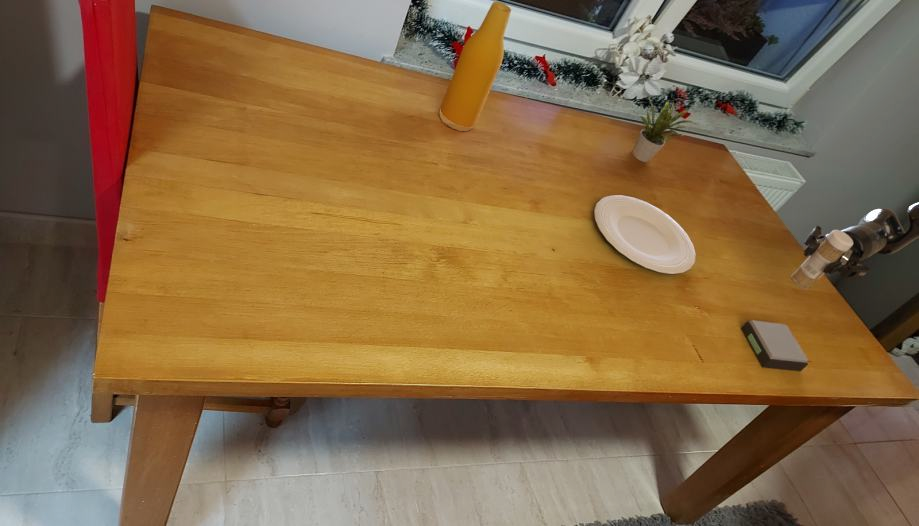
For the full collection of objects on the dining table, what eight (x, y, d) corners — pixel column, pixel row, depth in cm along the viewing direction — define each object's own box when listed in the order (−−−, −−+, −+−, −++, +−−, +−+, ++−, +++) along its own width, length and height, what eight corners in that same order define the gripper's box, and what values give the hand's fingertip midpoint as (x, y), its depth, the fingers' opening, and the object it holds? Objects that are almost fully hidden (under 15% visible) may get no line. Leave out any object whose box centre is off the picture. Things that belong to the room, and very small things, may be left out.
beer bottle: (461, 108, 166) (506, -4, 147) (481, 131, 161) (530, 19, 143) (430, 109, 161) (473, -6, 142) (450, 134, 156) (497, 17, 137)
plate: (694, 295, 144) (699, 289, 143) (587, 249, 142) (591, 243, 141) (688, 227, 163) (692, 221, 162) (593, 186, 161) (597, 180, 160)
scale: (777, 332, 145) (787, 323, 143) (800, 371, 138) (811, 362, 136) (739, 328, 141) (748, 318, 139) (761, 367, 135) (771, 357, 133)
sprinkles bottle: (813, 289, 142) (858, 244, 134) (799, 291, 140) (844, 245, 131) (799, 273, 145) (842, 228, 136) (785, 275, 143) (828, 228, 134)
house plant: (676, 179, 178) (712, 128, 168) (633, 173, 173) (667, 120, 162) (654, 146, 187) (687, 96, 177) (612, 138, 182) (643, 86, 171)
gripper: (838, 209, 147) (801, 223, 137) (894, 255, 141) (860, 273, 130) (815, 234, 152) (778, 249, 142) (868, 279, 145) (833, 298, 135)
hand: (817, 260), depth 136 cm, fingers closed on sprinkles bottle, 4 cm apart
